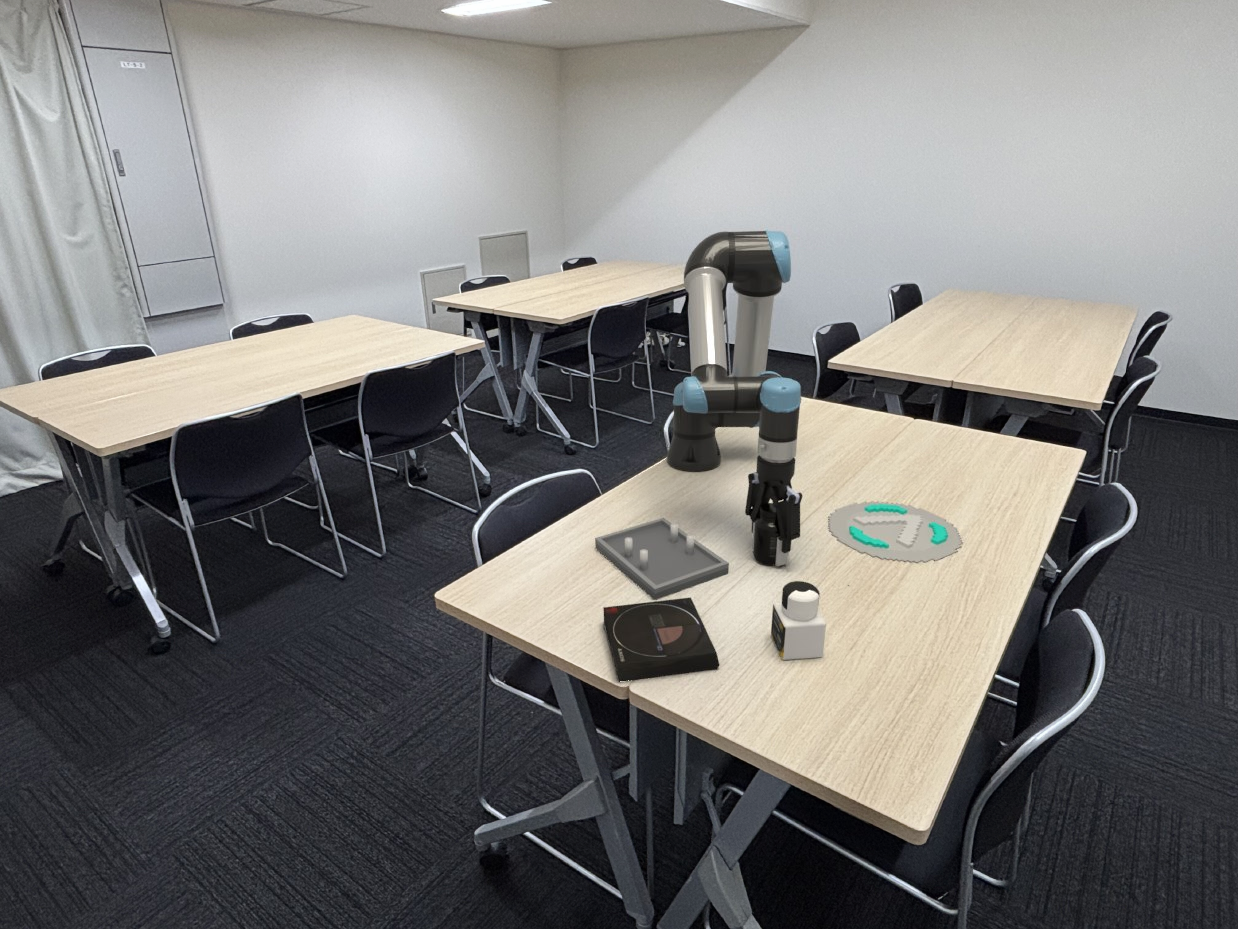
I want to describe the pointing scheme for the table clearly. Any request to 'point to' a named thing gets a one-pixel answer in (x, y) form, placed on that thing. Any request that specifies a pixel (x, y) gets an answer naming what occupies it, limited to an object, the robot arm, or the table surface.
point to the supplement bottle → (766, 535)
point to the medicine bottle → (798, 622)
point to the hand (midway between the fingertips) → (769, 555)
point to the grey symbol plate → (894, 532)
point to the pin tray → (661, 557)
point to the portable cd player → (658, 639)
